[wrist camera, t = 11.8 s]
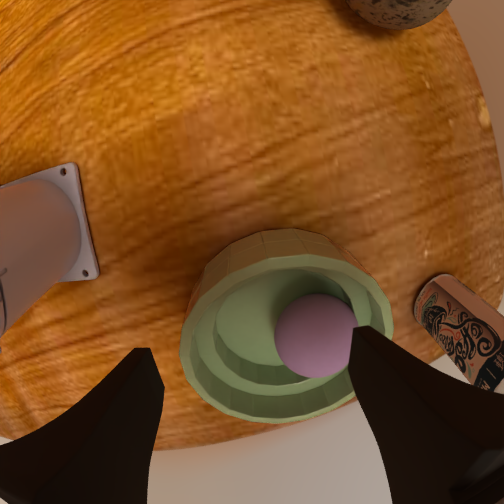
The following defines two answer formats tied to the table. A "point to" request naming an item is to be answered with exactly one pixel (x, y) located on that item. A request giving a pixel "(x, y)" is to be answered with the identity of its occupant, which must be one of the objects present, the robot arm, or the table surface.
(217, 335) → the bowl
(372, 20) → the decorative egg
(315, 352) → the ball
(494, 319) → the beer can
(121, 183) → the table surface
